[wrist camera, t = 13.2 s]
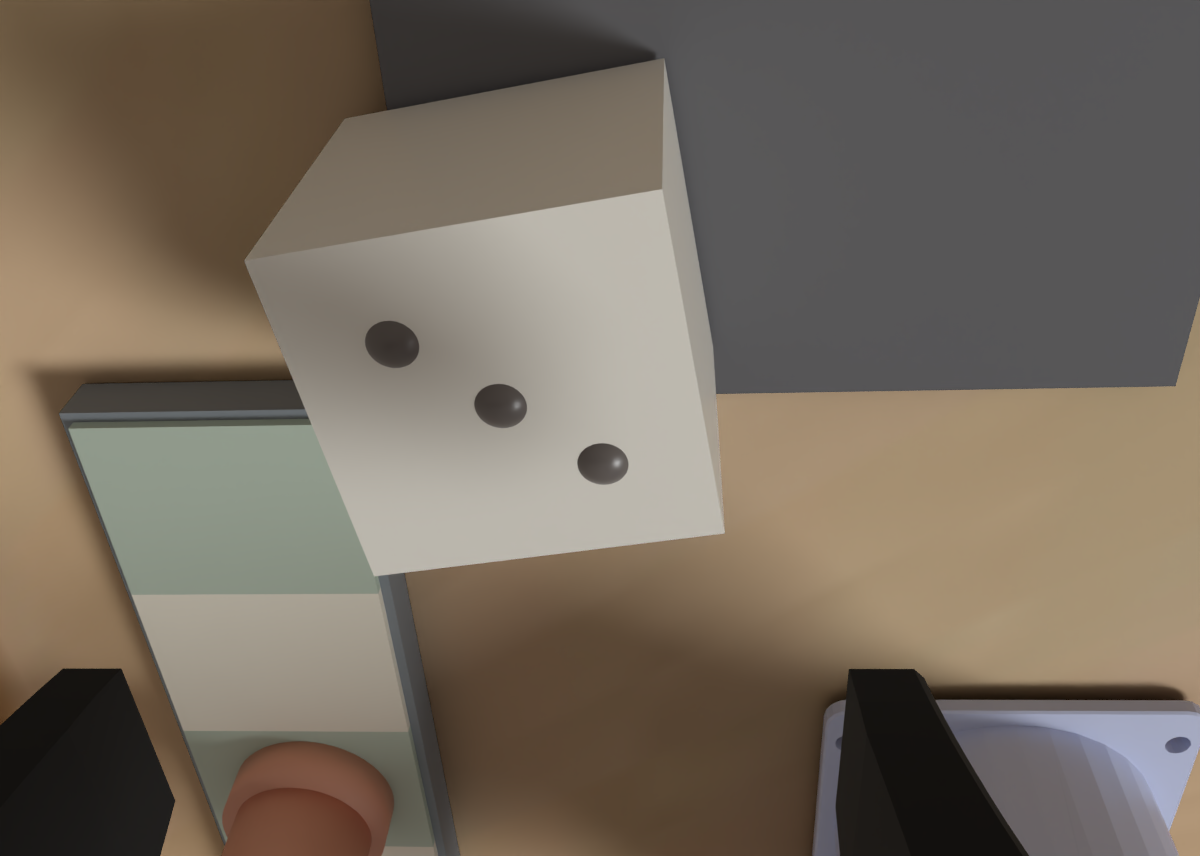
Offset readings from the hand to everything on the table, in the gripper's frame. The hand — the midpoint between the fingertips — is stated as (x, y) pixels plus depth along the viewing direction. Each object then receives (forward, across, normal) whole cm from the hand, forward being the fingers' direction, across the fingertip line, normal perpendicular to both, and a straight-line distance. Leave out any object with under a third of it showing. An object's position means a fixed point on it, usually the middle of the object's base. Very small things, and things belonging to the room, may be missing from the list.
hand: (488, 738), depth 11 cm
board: (+10, +6, +14) cm, 18 cm away
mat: (+10, -4, -2) cm, 11 cm away
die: (+7, -2, -2) cm, 7 cm away
